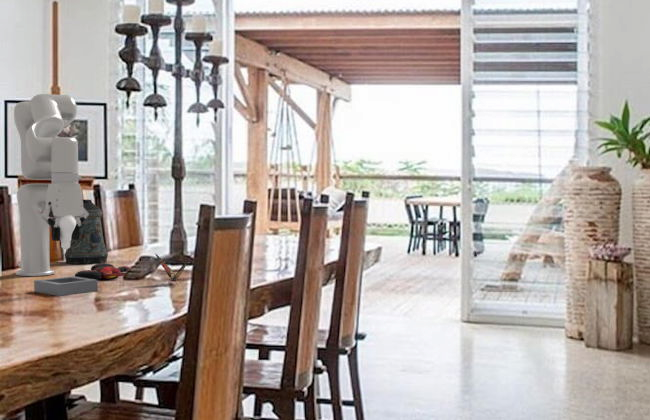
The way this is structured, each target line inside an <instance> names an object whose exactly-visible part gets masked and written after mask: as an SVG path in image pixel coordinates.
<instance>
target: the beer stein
mask: <svg viewBox="0 0 650 420" xmlns="http://www.w3.org/2000/svg"><path fill="white" fill-rule="evenodd" d="M83 207H84V208H85V210H86V211H87V212H88V213H89V215H88V216H87V217H86V219H85V220H84V221H83V222H82V224H81V226H80V236H79V240H74V239H71V241H70V248H68V249H67V250H65V253H64V259H65V263H66V264H67V265H96V264H101V263H105V262H106V263H107V260H108V257H109V254H108V253H109V252H108V250H107V248H106V245H105V241H104V235H103V232H104V231H103V227H102V221H101V219H102V218H101V217H102V215H103V211H102V209H101V208H100V207H99V206H97V205H96V204H94V203H93V201H92V199H83ZM79 217H80V216H79Z"/></svg>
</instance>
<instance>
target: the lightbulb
mask: <svg viewBox="0 0 650 420" xmlns="http://www.w3.org/2000/svg"><path fill="white" fill-rule="evenodd" d="M58 227H60V244H61V245H60V247H61V248H62V249H63V250H65V251H66V250H67V249H68V248H70V241H71V237H72V233H73V231H74V229H75V227H76V219H75V217H73V216H71V215H68V216H65V217H61V218H60V221H59V225H58Z"/></svg>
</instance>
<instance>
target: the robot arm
mask: <svg viewBox="0 0 650 420" xmlns="http://www.w3.org/2000/svg"><path fill="white" fill-rule="evenodd" d="M77 113H78V108H77V102H76V100H75V99H74V98H73V97H72V96H70V95H67V94H53V93H52V94H50V93H39V94H36V95H33V97H32V98H31V99H30V100H29V101H21V102H20V101H19V102H18V103H16V104H15V105H14V108H13V119H14V124H15V126H16V130H17V131H18V135H19V140H20V168H21V174H22V176H23V177H24V178H25V179H27V180H34V181H35V180H36V181H38V180H39V181H40V180H41V181H42V180H45V181H46V180H47V181H48V180H49V181H51V183H26V184H22V185H21V186H19V188H18V189H17V192H16V198H17V199H16V200H17V206H18V212H19V229H20V230H19V233H20V237H19V239H20V241H19V242H20V262H18V264H17V265H18V267H20V270H17V271H16V272H15V276H16V275H17V276H21V277H42V276H49V275H53V274H55V270H54V269H51V265H50V264H51V263H50V260H51V259H50V258H51V256H50V255H51V252H50V250H51V249H50V247H51V245H50V239H51V238H52V239H51V240H52V241H54V242H59V241H60V227H58V225H59V221H60V218H61V217H65V216H68V215H71V216H73V217H75V219H76V227H75V229H74V231H73V233H72V237H71V239H74V240H79V236H80V226H81V224H82V222H83V221H84V220H85V219H86V217H87V216H88V215H89V213H88V212H87V211H86V210H85V208H84V207H83V200H84V198H83V191H82V187H81V183H79V181H82V175H79V174H80V173H79V144H78V143H79V142H78V140H77V139H76V138H74V137H66V136H65V137H64V136H61V137H60V136H59V137H56V136H58V135H59V134H61V133H62V132H63V131H64V130H63V129H64V128H65V127H68V126H69V125H70V124H71V123H72V122H73V121H74V120H75V119H76V117H77ZM79 216H80V217H79ZM50 228H51V230H50ZM50 231H51V236H50ZM50 237H51V238H50ZM60 242H61V241H60Z"/></svg>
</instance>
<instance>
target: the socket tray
mask: <svg viewBox="0 0 650 420" xmlns="http://www.w3.org/2000/svg"><path fill="white" fill-rule="evenodd" d="M98 281H99V280H95V279H88V278H81V277H75V275H73V276H63V277H55V278H45V279H36V280H35V279H34V281H33V291H34V293H40V294H47V295H50V296H55V297H60V296H62V297H63V296H69V295H76V294H86V293H91V292H98V291H99V289H98V288H99V286H98V283H99V282H98Z"/></svg>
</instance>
